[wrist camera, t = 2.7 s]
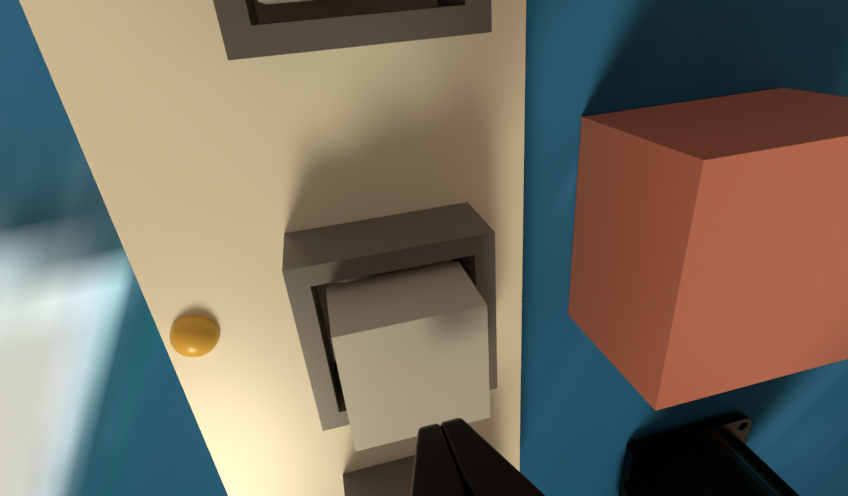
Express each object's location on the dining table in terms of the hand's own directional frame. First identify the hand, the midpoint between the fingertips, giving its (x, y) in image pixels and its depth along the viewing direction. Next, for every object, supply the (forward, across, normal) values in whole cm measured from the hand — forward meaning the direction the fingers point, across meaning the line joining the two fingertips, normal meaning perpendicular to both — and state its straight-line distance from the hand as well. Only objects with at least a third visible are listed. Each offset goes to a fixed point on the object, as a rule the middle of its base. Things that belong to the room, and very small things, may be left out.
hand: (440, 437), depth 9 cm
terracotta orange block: (+7, -10, 0) cm, 13 cm away
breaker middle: (+3, 0, 0) cm, 4 cm away
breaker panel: (+7, +1, 0) cm, 7 cm away
